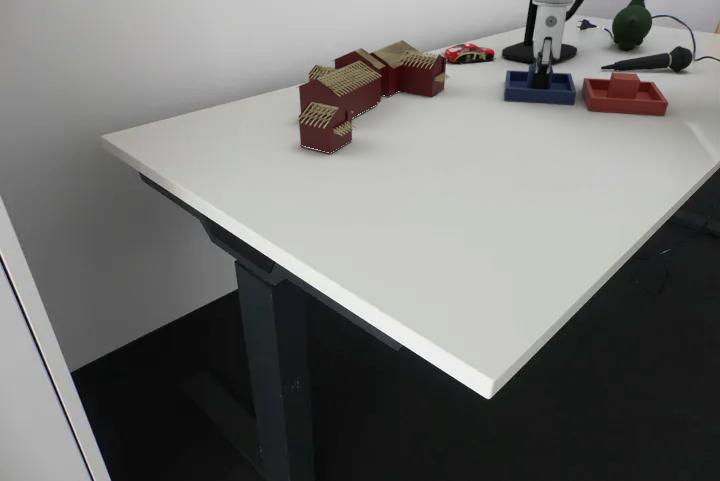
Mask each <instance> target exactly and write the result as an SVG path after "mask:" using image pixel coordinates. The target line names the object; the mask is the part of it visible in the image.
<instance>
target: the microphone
mask: <svg viewBox="0 0 720 481" xmlns="http://www.w3.org/2000/svg"><path fill="white" fill-rule="evenodd" d="M693 59H694V58H693V52H692V51H691V49H689V48H688V47H683V46H681V45H678V46H675V47H674V48H673V49H671V51H670V52H669V53H668V52H663V53H657V54H652V55H645V56H640V57H639V56H638V57H634V58H628V59H623V60H618V61H615V62H613V63H611V64H606V65H603V66H601V67H600V70H614V72H617V71H618V72H627V71H645V70H646V71H649V70H651V71H652V70H659V69H660V70H661V69H670V70H672V71H673V72H675V73H679V72H681V71H683V70H685V69H687V68H689V66H690V65H691V64H692V62H693Z"/></svg>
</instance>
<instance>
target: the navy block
mask: <svg viewBox="0 0 720 481" xmlns="http://www.w3.org/2000/svg"><path fill="white" fill-rule="evenodd" d="M535 68H536V65H534V64H529V65H528V70H527V71H528V77H527V83H526V88H529V89H531V84H532V78H533V73H535ZM553 73H554V69H553V65H550V71H549V74H550V76H549V81H548V87H547V90H550V87H551V81H552V76H553Z"/></svg>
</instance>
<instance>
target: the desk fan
mask: <svg viewBox="0 0 720 481" xmlns="http://www.w3.org/2000/svg"><path fill="white" fill-rule="evenodd" d="M584 1H585V0H574V1H573V4H572V5H571V6H570V8H569V10H566V19H565V23H566V22H568V21H569V20H570V19H571V18H573V16H574V15H575V14H576V12H577V11H578V9H580V8H581V6H582V4H583V3H584ZM532 2H533V0H529V3H528V8H527V9H528V10H527V16H526V21H525V22H526V23H525V28H524V29H525V30H524V36H523V41H521V42H518V43H514V44H512V45H510V46H506V47H505V48H503V49H502V51H501V55H502V56H503V57H504V58H506V59H509V60H515V61H520V62H525V63H530V64H534V61H535V57H534V51H533V45H534V32H535V24H536V17H537V10H538V5H536V4H533V3H532ZM577 53H578V47H577V46H575V45H572V44H568V43H562V44H561V51H560V57H559V59H557V60H555V58H553V53H552V58H551V64H554V63H559V62H562V61H564V60H567V59H569V58H571V57H573V56H576V54H577ZM549 56H550V55H549Z"/></svg>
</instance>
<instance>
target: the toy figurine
mask: <svg viewBox="0 0 720 481" xmlns="http://www.w3.org/2000/svg"><path fill="white" fill-rule="evenodd" d="M652 26H653V17H652V14H651V12H650V11H649V10H648V9H647V8H646V3H645V0H630V2H629V3H628V4H627V5H626V6H625V7H624V8H622V9H621V10H619V12H618V13H616V15H615V16H614V18H613V20H612V24H611V32H612V35H613V38H612V40H613V43H614V44H615V45H617V49H618V50H619V51H621V52H627V53H628V52H631V51H634V50H635V48H636V47H637V46H641V45H643V43H644V39H645V38H646V37H647V36H648V35H649V33H650V32H651V29H652Z"/></svg>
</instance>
